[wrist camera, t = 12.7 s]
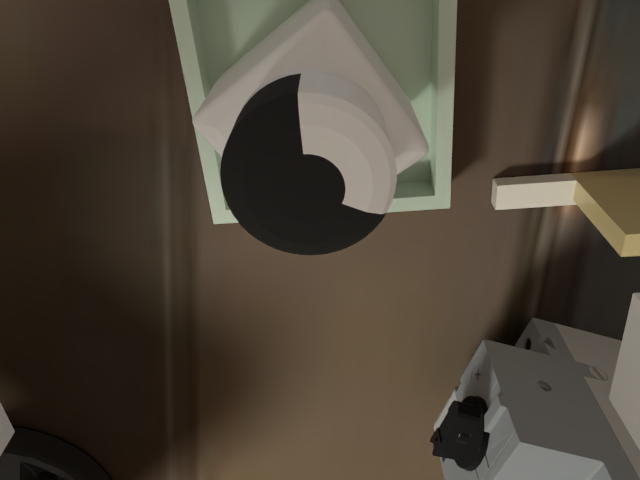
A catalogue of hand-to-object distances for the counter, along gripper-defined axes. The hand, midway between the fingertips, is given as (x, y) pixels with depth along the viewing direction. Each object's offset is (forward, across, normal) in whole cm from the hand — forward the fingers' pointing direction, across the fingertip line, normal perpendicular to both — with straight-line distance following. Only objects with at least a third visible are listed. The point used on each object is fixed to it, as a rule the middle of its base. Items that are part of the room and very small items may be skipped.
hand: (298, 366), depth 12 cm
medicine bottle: (+20, 0, 0) cm, 21 cm away
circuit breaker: (+21, +12, -20) cm, 31 cm away
